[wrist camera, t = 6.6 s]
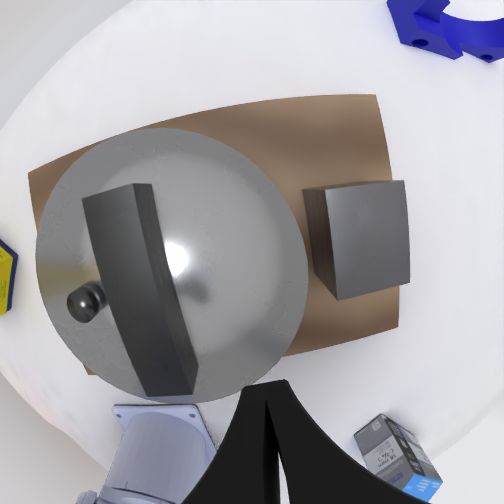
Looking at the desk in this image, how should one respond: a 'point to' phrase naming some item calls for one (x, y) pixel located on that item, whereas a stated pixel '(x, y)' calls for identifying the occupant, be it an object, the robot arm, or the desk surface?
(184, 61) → the desk surface
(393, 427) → the grey blue carton
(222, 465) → the robot arm
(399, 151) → the desk surface
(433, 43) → the cable clip
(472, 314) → the desk surface
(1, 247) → the supplement box
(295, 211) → the walnut board
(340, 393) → the desk surface
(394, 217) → the grey dish and cube
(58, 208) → the lid
